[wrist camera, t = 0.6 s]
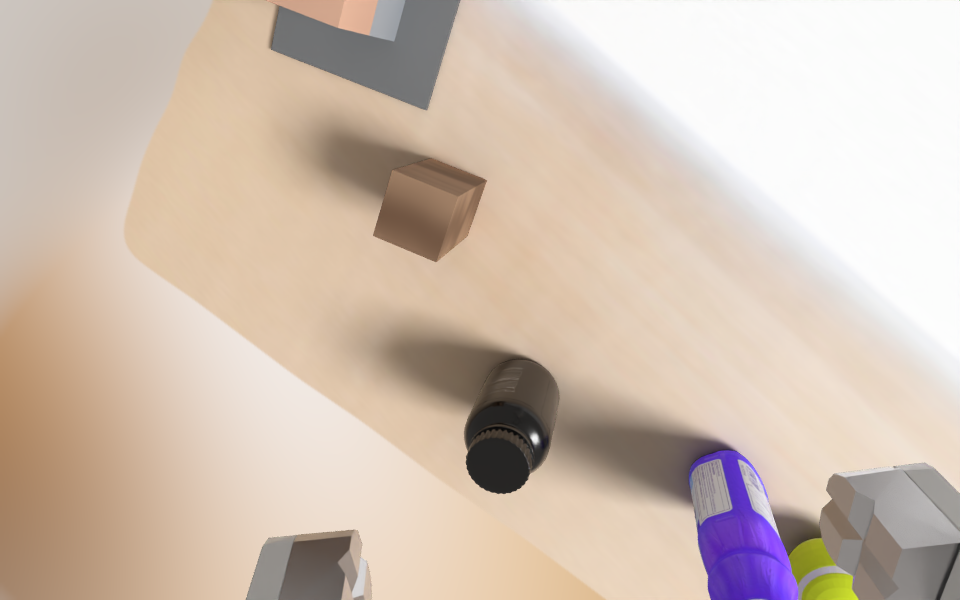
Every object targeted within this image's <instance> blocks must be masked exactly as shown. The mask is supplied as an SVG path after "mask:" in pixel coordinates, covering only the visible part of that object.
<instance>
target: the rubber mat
mask: <svg viewBox="0 0 960 600" xmlns="http://www.w3.org/2000/svg"><path fill="white" fill-rule="evenodd" d="M459 3H460V0H405V4H404V8H403V11H402V15H401V19H400V22H399V26H398V30H397V34H396V37H395V41H390V40H385V39H381V38H377V37H373V36H369V35H365V34H361V33H357V32H352V31H348V30H344V29H340V28H337V27H334V26H331V25H329V24H326V23H324V22H321V21H318V20H316V19H313V18H311V17H308V16H305V15H303V14H300V13H298V12H295V11H292V10H290V9H287V8H284V7H282V6H280V7H279V12H278V17H277V22H276V27H275V32H274V37H273V42H272V47H271V50H273V51H276V52H278V53H281V54H284V55H286V56H289V57H291V58H294V59H296V60H299V61H301V62H304V63H307V64H309V65H312V66H314V67H317V68H319V69H322V70H324V71H327V72H330V73H332V74H335V75H337V76H340V77H342V78H345V79H347V80H350V81H353V82H355V83H358V84H360V85H363V86H365V87H368V88H370V89H373V90H376V91H378V92H381V93H383V94H386V95H388V96H391V97H393V98H396V99H399V100H401V101H404V102H406V103H409V104H411V105H414V106H416V107H419V108H422V109H424V110H427V109H428V106H429V102H430V99H431V96H432V92H433V89H434V86H435V82H436V79H437V76H438V72H439V69H440V66H441V62H442V59H443V56H444V52H445V49H446V46H447V42H448V39H449V36H450V32H451V29H452V26H453V22H454V19H455V16H456V13H457V9H458V6H459Z"/></svg>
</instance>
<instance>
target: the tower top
mask: <svg viewBox="0 0 960 600" xmlns="http://www.w3.org/2000/svg"><path fill="white" fill-rule="evenodd" d="M266 1H269V2H271V3H274V4H277V5H279V6H282V7H284V8H287V9H290V10H292V11H295V12H298V13H300V14H303V15H305V16H308V17H311V18H313V19H316V20H318V21H321V22H324V23H326V24H329V25H331V26H334V27H337V28H340V29H344V30H348V31H352V32H357V33H361V34H365V35H369V34H370V30H371V26H372V22H373V19H374V15H375V11H376V7H377V3H378V0H266Z"/></svg>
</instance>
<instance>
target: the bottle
mask: <svg viewBox="0 0 960 600" xmlns="http://www.w3.org/2000/svg"><path fill="white" fill-rule="evenodd" d="M689 486H690V489H691V494H692V500H693V506H694V512H695V519H696V525H697V532H698V546H699V550H700V554H701V557H702V560H703V563H704V567H705V569H706V572H707V574H708V591H709V595H710V598H711V600H798V587H797V583H796V579H795V578H794V576H793V574H792V571H791V565H790V561H789V558H788V555H787V552H786V550H785V547H784V545H783V543H782V541H781V538H780V536H779V533H778V530H777V527H776V524H775V520H774V517H773V514H772V511H771V508H770V505H769V501H768V496H767V493H766V490H765V487H764V485H763V483H762V481H761V479H760V477H759V475H758V473H757V472H756V470H755V469H754V467H753V466H752V464H751V463H750V462H749V461H748V460H747V459H746V458H745V457H744V456H743V455H741V454H740V453H738V452H737V451H731V450H725V451H717V452H714V453H712V454H708V455H705V456H703V457H701V458H699V459H698V460H696V461H695V463H694V464H692V466H691V468H690V472H689Z"/></svg>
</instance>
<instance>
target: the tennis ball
mask: <svg viewBox="0 0 960 600" xmlns="http://www.w3.org/2000/svg"><path fill="white" fill-rule="evenodd" d="M788 558H789V561H790V565H791V571H792V574H793V576H794V578H795V579H796V583H797V587H798V600H859V599H858V598H857V596H856V595H855V593H854V592H853V590H852V583H853V576H852V575H851V574H849V573H847V572H846V571H844V570H843V569H841V568H839V567H838V566H836V564H835V563H834V561H833V560H832V558H831V557H830V555H829V554H828V552H827V550H826V547H825V545H824V543H823V540H822V538H814V539H810V540H807V541H804V542H802V543H801V544H799V545H798V546H797V547H796V548H795V549H794V550H793V551H792V552H791V553H790V555H789V556H788Z"/></svg>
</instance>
